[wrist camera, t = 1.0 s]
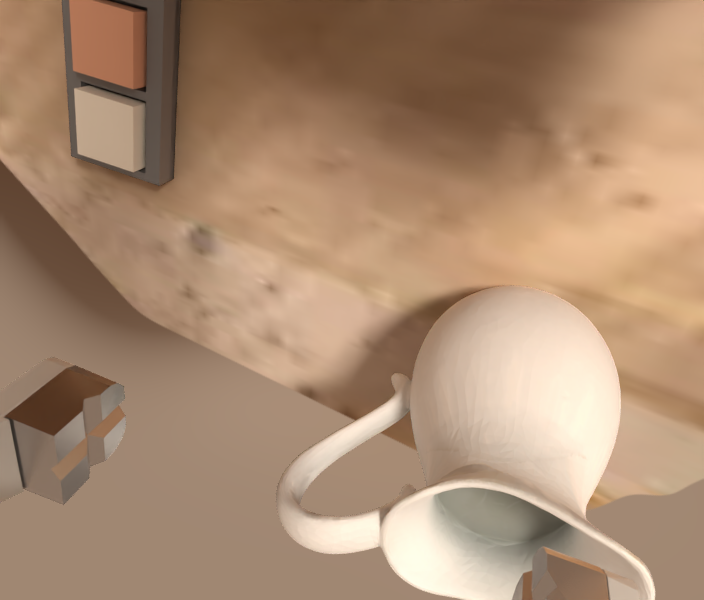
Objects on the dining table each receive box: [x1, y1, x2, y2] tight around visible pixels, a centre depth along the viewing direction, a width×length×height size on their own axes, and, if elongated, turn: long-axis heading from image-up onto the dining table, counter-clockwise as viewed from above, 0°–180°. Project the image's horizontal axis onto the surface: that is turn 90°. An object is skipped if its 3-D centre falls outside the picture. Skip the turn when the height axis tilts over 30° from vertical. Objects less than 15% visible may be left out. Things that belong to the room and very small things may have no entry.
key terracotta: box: [69, 0, 147, 89], centre depth 50 cm, size 6×6×2 cm
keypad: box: [62, 0, 181, 186], centre depth 51 cm, size 25×10×3 cm, turn 168°
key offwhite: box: [74, 85, 146, 172], centre depth 54 cm, size 6×6×2 cm
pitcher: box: [276, 285, 655, 600], centre depth 44 cm, size 24×17×28 cm
